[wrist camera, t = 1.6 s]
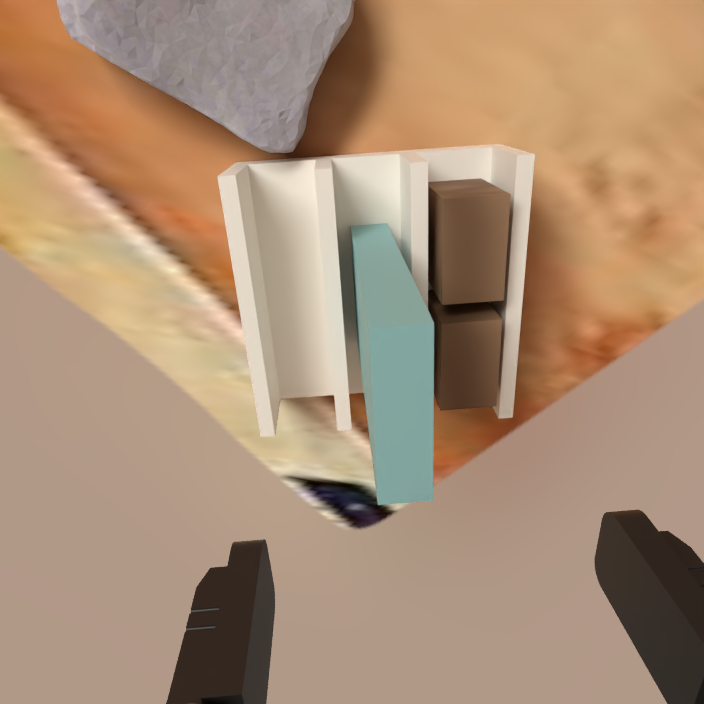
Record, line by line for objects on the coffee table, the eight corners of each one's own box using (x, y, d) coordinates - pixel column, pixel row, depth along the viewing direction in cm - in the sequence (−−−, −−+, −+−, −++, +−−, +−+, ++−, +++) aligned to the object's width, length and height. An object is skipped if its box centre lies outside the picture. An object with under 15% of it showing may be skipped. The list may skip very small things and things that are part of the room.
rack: (499, 143, 29) (534, 153, 24) (486, 371, 35) (512, 417, 30) (236, 162, 28) (217, 176, 24) (270, 388, 35) (260, 437, 30)
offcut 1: (481, 178, 28) (510, 194, 23) (477, 269, 30) (503, 300, 26) (424, 182, 28) (443, 199, 23) (424, 273, 30) (441, 305, 26)
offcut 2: (476, 286, 31) (502, 319, 26) (473, 363, 33) (496, 405, 28) (424, 290, 31) (441, 324, 26) (424, 367, 33) (440, 410, 28)
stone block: (147, -168, 24) (65, 45, 26) (122, -252, 20) (25, 14, 21) (371, -10, 27) (286, 169, 29) (395, -51, 23) (291, 164, 25)
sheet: (386, 223, 29) (434, 322, 16) (390, 340, 32) (432, 500, 19) (350, 225, 29) (368, 328, 16) (357, 342, 32) (378, 505, 19)
